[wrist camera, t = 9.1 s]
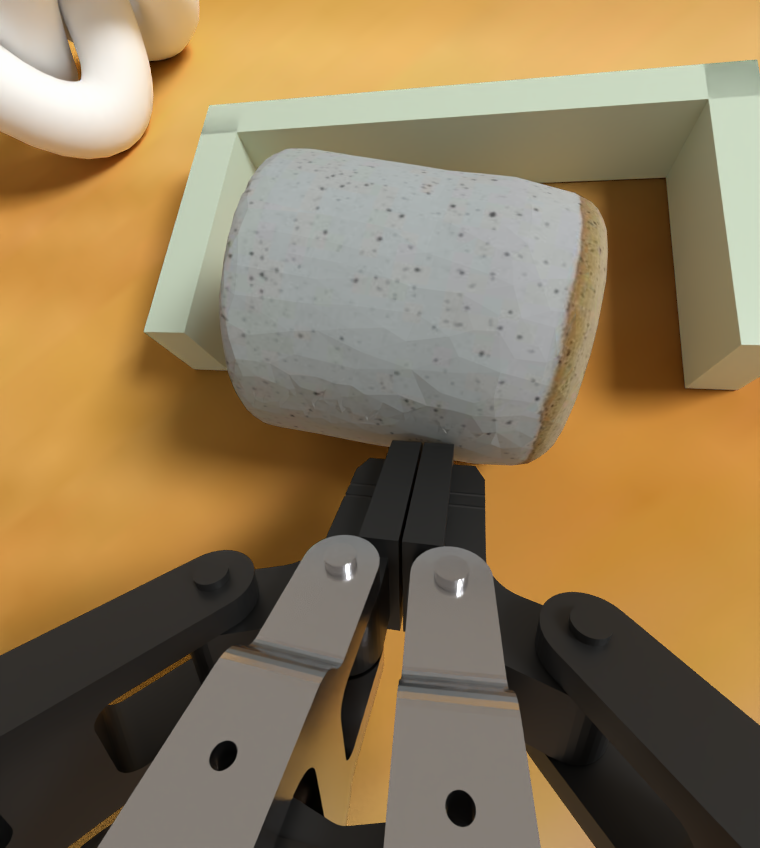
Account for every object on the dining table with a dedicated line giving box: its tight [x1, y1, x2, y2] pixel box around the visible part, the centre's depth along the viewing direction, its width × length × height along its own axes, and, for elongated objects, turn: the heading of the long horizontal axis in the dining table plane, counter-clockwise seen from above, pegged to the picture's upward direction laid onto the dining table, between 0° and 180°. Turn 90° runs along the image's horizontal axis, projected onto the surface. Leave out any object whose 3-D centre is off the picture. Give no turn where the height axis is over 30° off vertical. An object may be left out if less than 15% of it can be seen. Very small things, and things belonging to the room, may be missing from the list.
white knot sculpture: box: [0, 0, 199, 159], centre depth 19 cm, size 11×12×9 cm
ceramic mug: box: [219, 148, 608, 465], centre depth 13 cm, size 11×8×8 cm
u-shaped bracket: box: [144, 60, 760, 390], centre depth 16 cm, size 10×19×3 cm, turn 84°
